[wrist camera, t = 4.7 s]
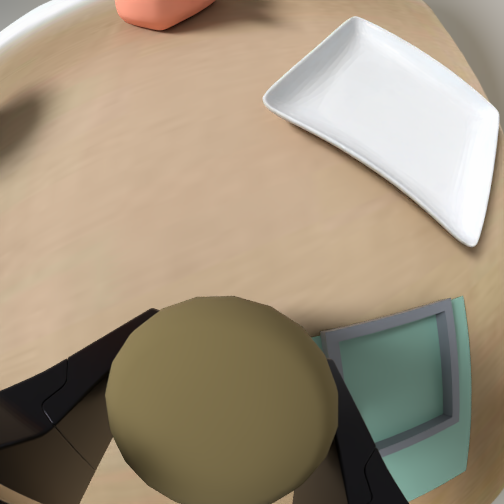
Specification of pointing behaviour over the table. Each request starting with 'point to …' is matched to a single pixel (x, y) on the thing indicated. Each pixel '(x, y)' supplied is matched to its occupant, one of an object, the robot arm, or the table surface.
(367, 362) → the board
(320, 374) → the cork
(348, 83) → the salad plate
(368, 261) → the table surface
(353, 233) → the table surface
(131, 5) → the teapot
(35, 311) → the table surface
